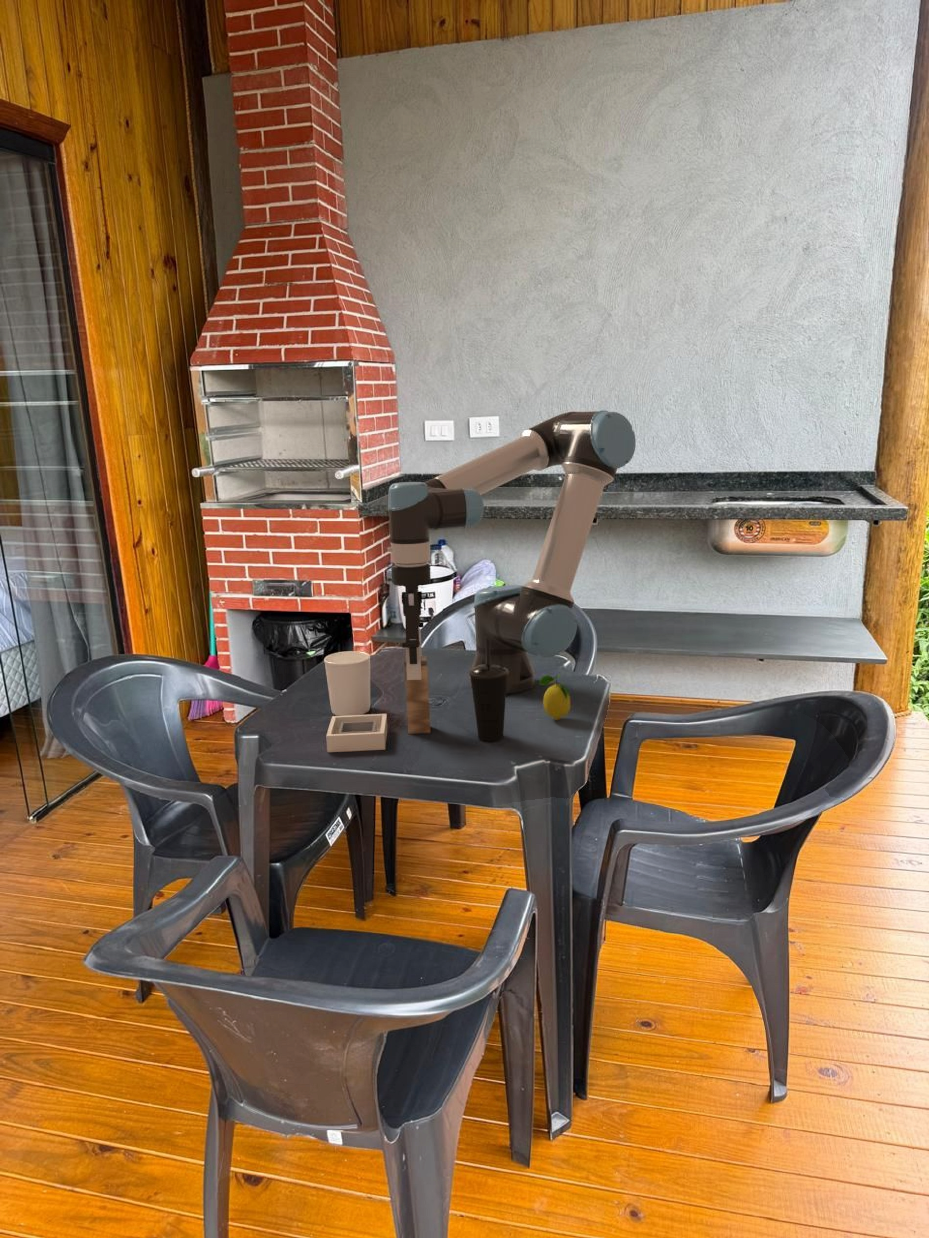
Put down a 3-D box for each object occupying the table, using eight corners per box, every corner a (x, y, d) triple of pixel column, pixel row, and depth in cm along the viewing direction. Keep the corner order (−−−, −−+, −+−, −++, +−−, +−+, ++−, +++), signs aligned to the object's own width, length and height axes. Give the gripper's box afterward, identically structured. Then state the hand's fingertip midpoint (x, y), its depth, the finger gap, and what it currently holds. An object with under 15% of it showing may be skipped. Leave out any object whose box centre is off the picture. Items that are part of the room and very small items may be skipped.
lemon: (539, 715, 184) (538, 669, 182) (566, 713, 185) (566, 667, 182) (544, 726, 178) (543, 679, 175) (573, 724, 178) (573, 677, 176)
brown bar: (430, 726, 180) (426, 655, 177) (430, 732, 177) (426, 660, 173) (408, 727, 180) (404, 656, 177) (408, 733, 177) (404, 661, 173)
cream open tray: (387, 728, 180) (386, 713, 179) (385, 749, 169) (384, 733, 168) (333, 731, 179) (332, 716, 179) (327, 752, 169) (326, 736, 168)
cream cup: (365, 719, 186) (361, 664, 183) (321, 717, 188) (317, 663, 185) (379, 703, 195) (376, 651, 192) (337, 702, 197) (333, 650, 194)
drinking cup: (471, 730, 177) (468, 634, 172) (509, 730, 177) (507, 633, 172) (470, 745, 170) (466, 644, 165) (510, 744, 169) (507, 643, 164)
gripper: (393, 553, 182) (397, 653, 187) (388, 575, 158) (393, 689, 163) (429, 552, 183) (433, 651, 187) (430, 574, 158) (434, 687, 163)
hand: (414, 669), depth 175 cm, fingers open, 13 cm apart
